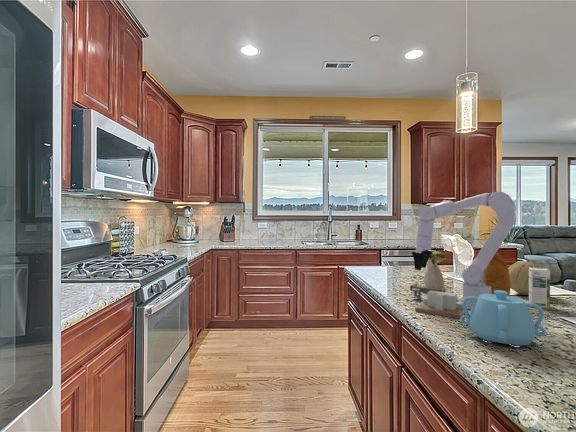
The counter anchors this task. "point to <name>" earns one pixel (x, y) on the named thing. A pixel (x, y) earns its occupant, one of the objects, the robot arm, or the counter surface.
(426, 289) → the bracket with white balls
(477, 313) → the decorative pot
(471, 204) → the robot arm
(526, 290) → the cantaloupe
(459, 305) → the tan board with cubes
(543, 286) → the syrup box
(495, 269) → the coffee package
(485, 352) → the counter surface
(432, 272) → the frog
